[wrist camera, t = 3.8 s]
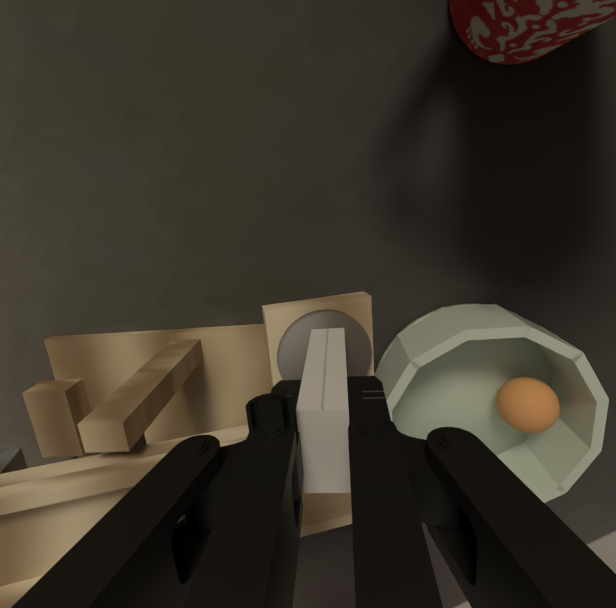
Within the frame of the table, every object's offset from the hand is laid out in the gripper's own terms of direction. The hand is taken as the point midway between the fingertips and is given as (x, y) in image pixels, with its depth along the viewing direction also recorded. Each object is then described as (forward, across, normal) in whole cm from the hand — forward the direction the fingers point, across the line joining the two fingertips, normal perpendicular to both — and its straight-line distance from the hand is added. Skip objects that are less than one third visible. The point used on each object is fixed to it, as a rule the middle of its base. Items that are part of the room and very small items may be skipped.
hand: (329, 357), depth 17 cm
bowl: (+9, +9, -7) cm, 14 cm away
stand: (+8, -12, -7) cm, 16 cm away
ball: (+6, +12, -7) cm, 15 cm away
